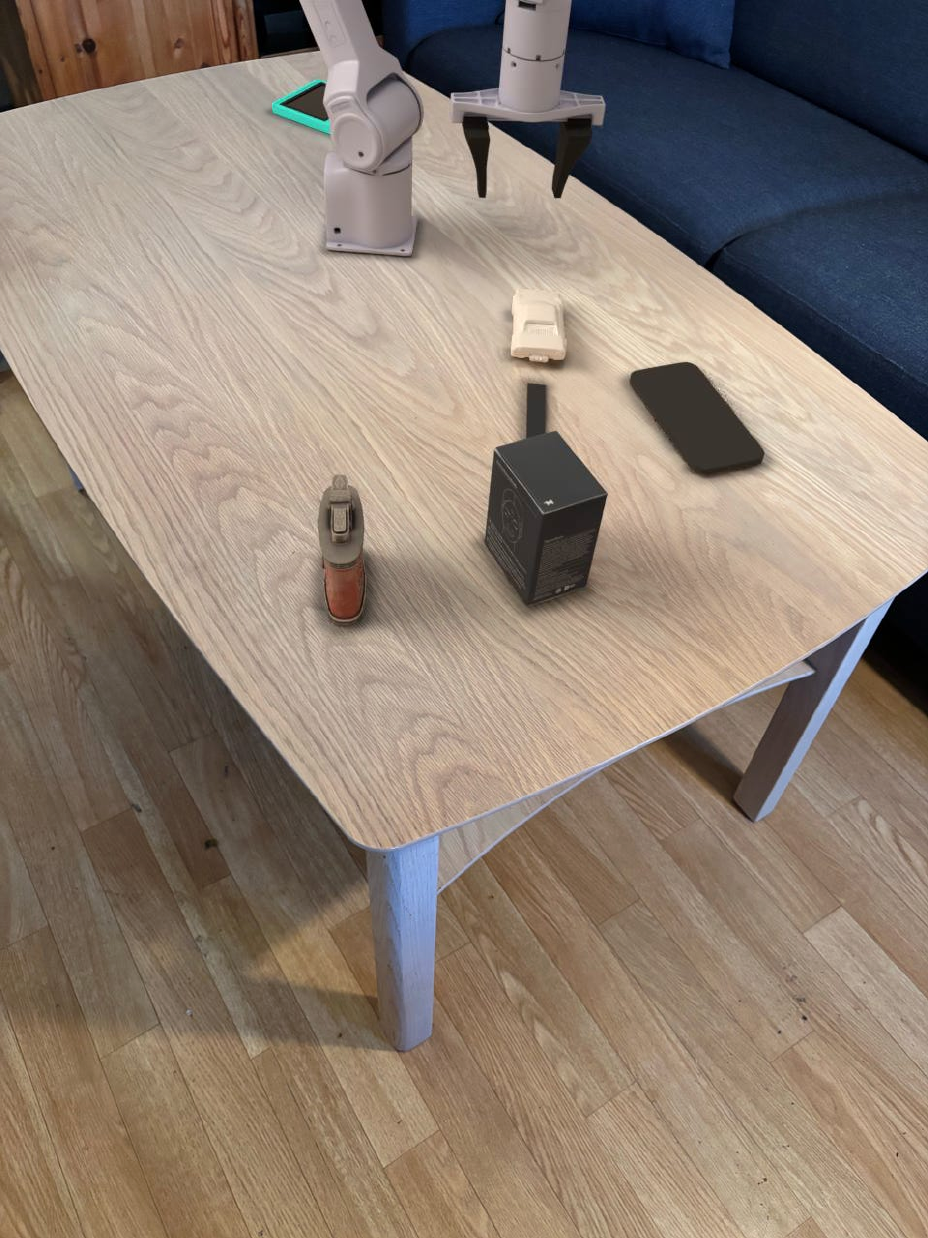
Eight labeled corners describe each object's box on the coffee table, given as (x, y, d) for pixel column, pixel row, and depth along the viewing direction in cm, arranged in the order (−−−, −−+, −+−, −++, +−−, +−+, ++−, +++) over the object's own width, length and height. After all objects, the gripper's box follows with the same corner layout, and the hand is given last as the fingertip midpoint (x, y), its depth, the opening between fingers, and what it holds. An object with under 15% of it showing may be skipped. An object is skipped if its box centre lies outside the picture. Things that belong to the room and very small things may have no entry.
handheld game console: (368, 150, 121) (367, 139, 120) (269, 112, 126) (268, 101, 125) (413, 121, 127) (414, 111, 126) (317, 86, 132) (317, 76, 130)
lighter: (324, 550, 79) (315, 459, 71) (365, 549, 79) (362, 458, 71) (323, 628, 74) (314, 539, 66) (367, 627, 74) (364, 537, 66)
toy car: (561, 303, 103) (565, 275, 100) (565, 373, 95) (569, 345, 93) (510, 299, 103) (513, 271, 100) (509, 370, 95) (513, 341, 92)
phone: (693, 359, 96) (770, 456, 88) (691, 366, 97) (767, 463, 88) (626, 371, 94) (698, 472, 86) (624, 378, 95) (696, 478, 86)
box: (587, 587, 78) (610, 493, 70) (526, 609, 76) (542, 514, 68) (541, 523, 82) (557, 426, 74) (481, 542, 80) (491, 445, 72)
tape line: (524, 491, 84) (525, 490, 84) (527, 384, 94) (527, 382, 94) (545, 493, 84) (545, 492, 84) (545, 385, 94) (545, 384, 94)
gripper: (604, 31, 91) (582, 173, 101) (450, 27, 89) (444, 172, 100) (618, 63, 86) (594, 209, 97) (456, 60, 85) (450, 208, 95)
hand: (518, 193), depth 98 cm, fingers open, 7 cm apart
